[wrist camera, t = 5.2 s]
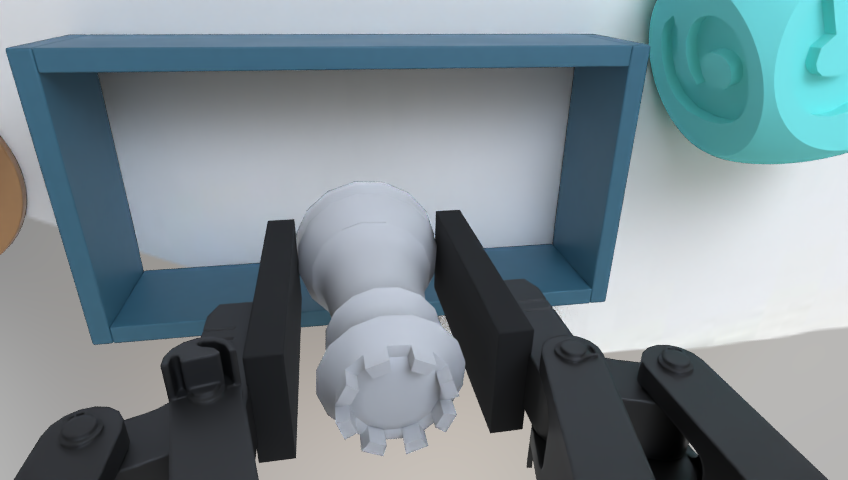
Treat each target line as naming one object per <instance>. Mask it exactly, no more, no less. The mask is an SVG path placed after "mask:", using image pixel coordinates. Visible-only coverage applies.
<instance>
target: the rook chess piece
mask: <svg viewBox="0 0 848 480" xmlns="http://www.w3.org/2000/svg"><path fill="white" fill-rule="evenodd" d="M296 243H297V253H298V270H299V274H300V276H301V278H302V280H303V282H304V284H305V286H306V288H307V290H308V292H309V294H310V295H311V297H312V299H314V300H315V301H316V302H317V303H318V304H320V305H321V306H322V307H323V308H325V309H326V310H327V311H328V312H329V313H330V316H331V321H330V323H329V325H328V327H327V329H326V352H325V354H324V356H323V358H322V360H321V362H320V364H319V366H318V368H317V370H316V394H317V396H318V398H319V400H320V402H321V403H322V405H323V407H324V409H325V411H326V412H327V414H328V415H329V416H330V417H332V418H333V419H335V420H336V424H337V426H338V428H339V430H340V432H341V433H342V435H343V437H344V439H347V438H349V437H351V436H352V435H354V434H356V433H358V434H360V440H361V450H362V451H364V452H367V453H372V454H376V455H381V456H383V455H384V452H385V449H386V439H397V438H403V440H404V445H405V450H406V454H408V453H411V452H413V451H416V450H419V449H421V448H424V447H427V446H428V443H427V439H426V435H425V431H424V430H425V429H426V428H427V427H429V426H430V425H431V424H433V423H434V424H435V427H436V428H438V429H440V430H442V431H444V432H446V431H447V429H448V428H449V426H450V425H451V423H452V422H453V420H454V418H455V417H456V415H457V414H456V411H455V408H454V405H453V400H454V398H455V397H458V396H459V394H458V392H459V390H460V389H461V387H462V385H463V378H464V371H465V364H466V362H465V359H464V357H463V354H462V351H461V348H460V346H459V343H458V341H457V340H456V339H455V338H454V337H453V336H452V335H451V334H450V333H449V332H448V331H446V330H445V329H444V328H443V327H442V326H441V323H440V321H439V318H438V315H437V313H436V310H435V308H434V307H433V306H432V305H431V304H430V303H428V302H427V301H426V300H425V293H424V292H425V290H426V288H427V287H428V285H429V283H430V281H431V280H432V278H433V276H434V271H435V262H436V252H437V244H436V241H435V238H434V233H433V230H432V227H431V224H430V221H429V219H428V216H427V213H426V211H425V210H424V209H423V207H422V206H421V205H420V204H419V203H418V202H417V201H416V200H415V199H414V198H413V197H412V196H411V195H410V194H409V193H408V192H406V191H403V190H401V189H398V188H396V187H394V186H391V185H389V184H387V183H384V182H352V183H349V184H347V185H344V186H341V187H338V188H336V189H333V190H330V191H328V192H327V193H325V194H324V195H323V196H322V197H321V198H320V199H319V200H318V201H317V202H315V203H314V204H313V205H312V206H311V207H310V208H309V209H308V210H307V211H306V214H305V216H304V218H303V220H302V223H301V225H300V227H299V229H298V231H297V234H296Z"/></svg>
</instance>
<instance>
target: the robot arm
mask: <svg viewBox="0 0 848 480" xmlns="http://www.w3.org/2000/svg"><path fill="white" fill-rule="evenodd" d="M435 241H436V244H437V252H436V262H435V271H434V288H435V291H436V293H437V296H438V299H439V301H440V304H441V306H442V309H443V312H444V314H445V317H446V319H447V322H448V325H449V327H450V330H451V332H452V335H453V337H454V338H455V339H456V340H457V341H458V343H459V346H460V348H461V351H462V354H463V357H464V359H465V362H466V364H465V369H466V371H467V374H468V376H469V379H470V382H471V384H472V387H473V389H474V392H475V394H476V397H477V400H478V402H479V405H480V407H481V410H482V413H483V415H484V418H485V421H486V423H487V426H488V428H489V431H490V433H495V432H503V431H511V430H518V429H522V428H523V419H524V411H526V413H527V415H528V417H529V419H530V421H531V423H532V428H531V435H530V444H529V451H528V458H527V468H528V467H529V468H532V461H533V462H534V468H535V474H536V479H537V480H828V479H827V478H826V477H825V476H824V475H823V474H822V473H821V472H820V471H818V469H817V468H815V467H814V466H813V465H812V464H811V463H810V462H809V461H808V460H807V459H806V458H805V457H804V456H803V455H802V454H801V453H800V452H799V451H798V450H797V449H795V448H794V447H793V446H792V445H791V444H790V443H789V442H788V441H787V440H786V439H785V438H784V437H783V436H782V435H781V434H780V433H779V432H778V431H776V430H775V428H773V427H772V426H771V425H770V424H769V423H768V422H767V421H766V420H765V419H764V418H763V417H762V416H761V415H760V414H759V413H758V412H757V411H756V410H755V409H753V408H752V407H751V406H750V405H749V404H748V403H747V402H746V401H745V400H744V399H743V398H742V397H741V396H740V395H739V394H738V393H737V392H736V391H735V390H733V389H732V388H731V387H730V386H729V385H728V384H727V383H726V382H725V381H724V380H723V379H722V378H721V377H720V376H719V375H718V374H717V373H716V372H715V371H713V369H711V368H710V367H709V366H708V365H707V364H706V363H705V362H704V361H703V360H702V359H700V358H699V357H698V356H696V355H695V354H693V353H691V352H689V351H687V350H685V349H682V348H679V347H676V346H670V345H655V346H652V347H648V348H647V349H646V350H645V351H644V352H643V353H642V357H641V362H631V361H623V360H615V359H609V358H605V357H604V355H603V353H602V352H601V350H600V349H599V348H598V346H596V345H595V344H593V343H592V342H590V341H588V340H586V339H583V338H580V337H577V336H573V335H572V333H571V332H570V331H569V329H568V328H567V327H566V325H565V324H564V322H563V321H562V320H561V318H560V317H559V315H558V314H557V313H556V311H555V310H554V309H552V306H551V304H550V303H549V302H548V300H546V297H545V296H544V295H543V293H542V292H541V290H540V289H539V288H538V287H537V286H535V285H534V284H532V283H531V282H529V281H527V280H526V279H524V278H523V279H511V280H503V279H502V277H501V275H500V274H499V272H498V271H497V269H496V267H495V266H494V264H493V263H492V261H491V259H490V258H489V256H488V255H487V253H486V251H485V250H484V248H483V247H482V245H481V243H480V242H479V240H478V239H477V237H476V235H475V234H474V232H473V231H472V229H471V227H470V226H469V224H468V223H467V221H466V219H465V218H464V216H463V215H462V213H461V211H460V210H450V211H436V229H435ZM301 306H302V295H301V284H300V274H299V270H298V253H297V243H296V233H295V222H294V219H293V220H276V221H268V224H267V229H266V234H265V240H264V245H263V250H262V256H261V261H260V266H259V272H258V277H257V282H256V288H255V293H254V298H253V302H242V303H230V304H219V305H218V306H217V307H216V308H215V309H214V310H213V311H212V312H211V313H210V314H209V315H208V316H207V319H206V322H205V325H204V328H203V332H202V335H201V338H196V339H193V340H190V341H187V342H184V343H182V344H180V345H178V346H176V347H175V348H173V349H171V350H170V351H169V352H168V353H167V354H166V355H165V356H164V358H163V360H162V363H161V370H162V374H163V378H164V383H165V387H166V391H167V395H168V399H169V403H167V404H165V405H164V406H162V407H160V408H158V409H156V410H153V411H151V412H148V413H145V414H142V415H139V416H136V417H133V418H130V419H126V420H124V419H123V418H122V416H121V414H120V412H119V411H117V410H115V409H113V408H110V407H91V408H86V409H81V410H78V411H76V412H73V413H71V414H69V415H66V416H64V417H63V418H61V419H60V420H58V421H57V422H55V423H54V424H52V425H51V426H50V427H49V428H48V429H47V430H46V431H45V432H44V434H43V435H42V436H41V437H40V438H39V440H38V442H37V443H36V445H35V447H34V448H33V450H32V451H31V453H30V454H29V456H28V458H27V459H26V461H25V462H24V464H23V466H22V467H21V469H20V470H19V472H18V474H17V475H16V477H15V478H14V480H259V479H258V473H257V468H256V463H255V457H256V450H257V453H258V459H259V463H262V462H270V461H277V460H285V459H293V458H296V440H297V439H296V438H297V414H298V387H299V386H298V385H299V360H300V359H299V358H300V333H301ZM689 443H690V444H691V445H692V446H693V447H694V449H695V450H696V452H697V453H698V454H696V453H695V452H694V451H693V450H692V448H691V447H690V446H689V445H688V444H689Z"/></svg>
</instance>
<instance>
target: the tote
mask: <svg viewBox="0 0 848 480" xmlns="http://www.w3.org/2000/svg"><path fill="white" fill-rule="evenodd" d="M6 53H7V57H8V60H9V63H10V67H11V70H12V74H13V77H14V80H15V84H16V87H17V90H18V94H19V97H20V100H21V104H22V107H23V111H24V114H25V117H26V121H27V124H28V127H29V131H30V134H31V137H32V141H33V144H34V148H35V151H36V154H37V158H38V161H39V164H40V168H41V171H42V174H43V178H44V181H45V185H46V188H47V191H48V195H49V198H50V201H51V205H52V208H53V211H54V215H55V218H56V222H57V225H58V228H59V232H60V235H61V238H62V242H63V245H64V248H65V252H66V255H67V259H68V262H69V265H70V269H71V272H72V275H73V278H74V282H75V285H76V288H77V292H78V295H79V299H80V302H81V306H82V309H83V312H84V316H85V319H86V322H87V326H88V329H89V333H90V336H91V339H92V343H93V344H94V345H98V344H109V343H113V342H115V343H121V342H133V341H144V340H157V339H169V338H181V337H191V336H192V337H193V336H201V335H202V332H203V328H204V325H205V322H206V319H207V316H208V315H209V314H210V313H211V312H212V311H213V310H214V309H215V308H216V307H217V306H218V305H219V304H230V303H242V302H253V298H254V293H255V288H256V282H257V277H258V272H259V266H260V263H254V264H239V265H224V266H208V267H193V268H178V269H163V270H149V271H144V270H143V266H142V262H141V258H140V253H139V249H138V245H137V240H136V236H135V232H134V228H133V223H132V219H131V215H130V210H129V206H128V202H127V198H126V193H125V189H124V185H123V180H122V176H121V172H120V168H119V163H118V159H117V155H116V150H115V146H114V142H113V138H112V133H111V129H110V125H109V120H108V116H107V112H106V108H105V103H104V99H103V95H102V90H101V86H100V82H99V78H98V73H100V72H186V71H273V70H360V69H446V68H533V67H575V69H574V77H573V85H572V93H571V101H570V109H569V117H568V126H567V134H566V142H565V150H564V158H563V166H562V174H561V182H560V190H559V198H558V206H557V214H556V222H555V230H554V238H553V245H552V244H544V245H529V246H514V247H499V248H484V250H485V251H486V253H487V255H488V256H489V258H490V259H491V261H492V263H493V264H494V266H495V267H496V269H497V271H498V272H499V274H500V275H501V277H502V279H503V280H511V279H523V278H524V279H526V280H527V281H529V282H531V283H532V284H534V285H535V286H537V287H538V288H539V289H540V290H541V292H542V293H543V295H544V296H545V297H546V300H548V302H549V303H550V304H551V306H560V305H572V304H583V303H589V302H591V303H594V302H604V301H605V299H606V294H607V288H608V283H609V277H610V271H611V266H612V260H613V255H614V249H615V243H616V238H617V232H618V227H619V221H620V215H621V210H622V204H623V199H624V193H625V187H626V182H627V176H628V171H629V165H630V159H631V154H632V148H633V143H634V137H635V131H636V126H637V120H638V115H639V109H640V103H641V98H642V92H643V87H644V81H645V75H646V70H647V64H648V59H649V53H650V45H648V44H643V43H638V42H632V41H627V40H622V39H617V38H611V37H606V36H601V35H596V34H170V35H65V36H61V37H56V38H51V39H46V40H42V41H37V42H32V43H28V44H23V45H18V46H13V47H9V48H6ZM300 284H301V295H302V306H301V327H311V326H323V325H329V323H330V321H331V316H330V313H329V312H328V311H327V310H326V309H325V308H323V307H322V306H321V305H320V304H318V303H317V302H316V301H315V300H314V299H312V297H311V295H310V294H309V292H308V290H307V288H306V286H305V284H304V282H303V280H302V278H301V276H300ZM424 293H425V300H426V301H427V302H428V303H430V304H431V305H432V306H433V307H434V308H435V310H436V313H437V315H438V316H441V315H445V314H444V312H443V309H442V306H441V304H440V301H439V299H438V296H437V293H436V291H435V288H434V276H433V278H432V280H431V281H430V283H429V285H428V287H427V288H426V290H425V292H424Z"/></svg>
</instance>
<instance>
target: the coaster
mask: <svg viewBox="0 0 848 480" xmlns="http://www.w3.org/2000/svg"><path fill="white" fill-rule="evenodd" d="M26 204H27V198H26V188H25V183H24V179H23V175H22V173H21V170H20V168H19V165H18V163H17V161H16V159H15V157H14V155H13V153H12V152H11V150H10V148H9V147H8V146H7V144H6V143H5V141H4V140H3V139H2V137H1V136H0V254H2V253H3V252H4V251H5V250H6V249H7V248H8V247H9V246H10V245H11V244H12V243H13V241H14V240H15V238H16V237H17V235H18V234H19V231H20V229H21V227H22V225H23V222H24V218H25V214H26Z"/></svg>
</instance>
